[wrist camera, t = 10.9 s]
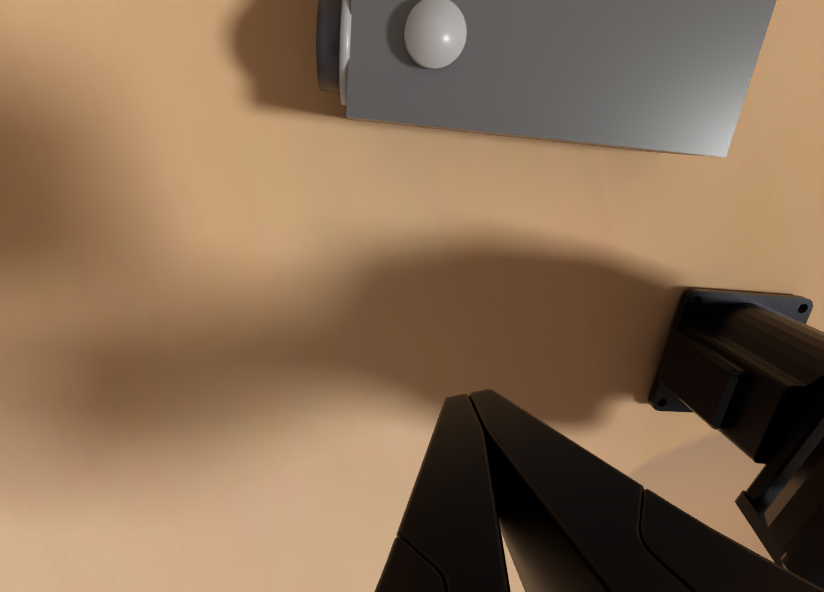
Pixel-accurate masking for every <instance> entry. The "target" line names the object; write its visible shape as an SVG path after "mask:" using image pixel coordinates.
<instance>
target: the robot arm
mask: <svg viewBox="0 0 824 592" xmlns="http://www.w3.org/2000/svg"><path fill="white" fill-rule="evenodd" d="M695 296H696V299H695V301H694V302H692V303H691V301H692V299H693V298H694V297H695ZM799 306H800V307H799ZM798 307H799V308H798ZM812 308H813V303H812V301H811V300H810V299H807V298H804V297H802V296H795V295H781V294H767V293H754V292H740V291H726V290H712V289H698V288H692V289H688V290H686V291H685V292H684V293H683V295H682V296H681V299H680V302H679V305H678V308H677V311H676V314H675V317H674V320H673V324H672V327H671V330H670V333H669V336H668V339H667V342H666V345H665V348H664V351H663V354H662V357H661V361H660V364H659V367H658V370H657V373H656V376H655V379H654V382H653V385H652V388H651V391H650V395H649V398H648V402H649V404H650V405H651V406H652V407H653V408H654V409H655V410H658V411H674V412H694V413H695V414H697V415H698V416H699V417H700V418H701V419H702V420H703V421H705V422H706V423H707V424H708V425H709V426H710V427H711V428H713V429H716V430H718V431H720V432H721V433H722V434H723V435H724V436H725V437H727V438H728V439H729V440H730V441H731V442H733V443H734V444H735V445H736V446H737V447H738V448H739V449H740V450H742V451H743V452H744V453H745V454H746V455H747V456H748V457H750V458H751V459H752V460H753V461H754V462H755V463H764V464H765V466H764V467H763V469H762V470H761V472H760V473H759V474H758V475H757V477H756V478H755V479H754V481H753V482H752V483H751V485H750V486H749V488H748V489H747V490H746V491H742V492H741V494H740V495H739V496H738V498H737V499H736V500H735V503H736V504H737V506H738V507H739V509H740V510H741V512H742V513H743V515H744V516H745V518H746V519H747V521H748V522H749V524H750V525H751V527H752V528H753V530H754V531H755V533H756V535H757V536H758V538H759V539H760V541H761V542H762V543H763V545H764V547H765V548H766V550H767V551H768V553H769V554H770V556H771V557H772V559H773V560H774V562H775V563H774V562H772V561H770V560H768V559H766V558H764V557H762V556H760V555H759V554H757V553H755V552H753V551H752V550H750V549H748V548H746V547H744V546H743V545H740V544H739V543H737V542H735V541H734V540H732V539H730V538H728V537H726V536H725V535H723V534H721V533H719V532H717V531H716V530H714V529H712V528H710V527H709V526H707V525H705V524H704V523H702V522H700V521H699V520H697V519H695V518H694V517H692V516H690V515H689V514H687V513H685V512H684V511H682V510H681V509H679V508H677V507H676V506H674V505H672V504H671V503H669V502H668V501H666V500H665V499H663V498H661V497H660V496H658V495H657V494H655V493H653V492H652V491H650V490H648V489H645V490H644V488H643V486H642V485H641V484H639V483H637V482H636V481H634V480H633V479H631V478H630V477H628V476H627V475H625V474H623V473H622V472H620V471H619V470H617V469H616V468H614V467H612V466H611V465H609V464H608V463H606V462H605V461H603V460H601V459H600V458H598V457H597V456H595V455H594V454H592V453H590V452H589V451H587V450H586V449H584V448H583V447H581V446H579V445H578V444H576V443H575V442H573V441H572V440H570V439H568V438H567V437H565V436H564V435H562V434H561V433H559V432H558V431H556V430H554V429H553V428H551V427H550V426H548V425H547V424H545V423H543V422H542V421H540V420H539V419H537V418H536V417H534V416H532V415H531V414H529V413H528V412H526V411H525V410H523V409H521V408H520V407H518V406H517V405H515V404H514V403H512V402H510V401H509V400H507V399H506V398H504V397H503V396H501V395H500V394H498V393H496V392H495V391H493V390H491V389H488V390H482V391H477V392H472V393H471V394H470V395H469V396H468V395H467V394H461V395H456V396H451V397H447V398H446V399H445V401H444V404H443V406H442V409H441V412H440V415H439V418H438V420H437V423H436V426H435V429H434V432H433V434H432V437H431V440H430V443H429V445H428V448H427V451H426V454H425V457H424V459H423V462H422V465H421V468H420V471H419V473H418V476H417V479H416V482H415V484H414V487H413V490H412V493H411V496H410V498H409V501H408V504H407V507H406V510H405V512H404V515H403V518H402V521H401V524H400V526H399V529H398V532H397V538H395V540H394V542H393V545H392V548H391V551H390V553H389V556H388V559H387V562H386V564H385V567H384V569H383V572H382V574H381V577H380V579H379V582H378V584H377V587H376V589H375V592H510V585H509V579H508V573H507V567H506V560H505V554H504V548H503V541H502V535H503V538H504V540H505V543H506V545H507V547H508V550H509V552H510V555H511V557H512V560H513V562H514V565H515V567H516V570H517V572H518V575H519V577H520V580H521V582H522V585H523V587H524V590H525V592H824V332H822V331H820V330H818V329H815V328H813V327H811V326H809V325H806V322H807V320H808V318H809V315H810V313H811V311H812ZM660 399H661V401H659V400H660ZM658 401H659V402H658ZM501 532H502V535H501Z"/></svg>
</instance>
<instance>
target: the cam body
mask: <svg viewBox="0 0 824 592" xmlns="http://www.w3.org/2000/svg"><path fill="white" fill-rule="evenodd" d="M775 3H776V0H319V4H318V15H317V39H316V53H317V75H318V83H319V88H320V90H326V91H335V92H340V100H341V105H346V117H348V118H350V119H351V120H361V121H370V122H379V123H389V124H398V125H407V126H417V127H426V128H435V129H445V130H454V131H463V132H473V133H482V134H491V135H500V136H510V137H519V138H528V139H538V140H547V141H556V142H566V143H575V144H584V145H594V146H603V147H612V148H622V149H631V150H640V151H650V152H659V153H671V154H685V155H698V156H712V157H726V155H727V152H728V148H729V145H730V142H731V139H732V136H733V133H734V130H735V127H736V124H737V121H738V118H739V114H740V111H741V108H742V105H743V102H744V99H745V96H746V93H747V90H748V87H749V84H750V80H751V77H752V74H753V71H754V68H755V65H756V62H757V59H758V56H759V53H760V50H761V46H762V43H763V40H764V37H765V34H766V31H767V28H768V25H769V22H770V19H771V16H772V12H773V9H774V6H775Z"/></svg>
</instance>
